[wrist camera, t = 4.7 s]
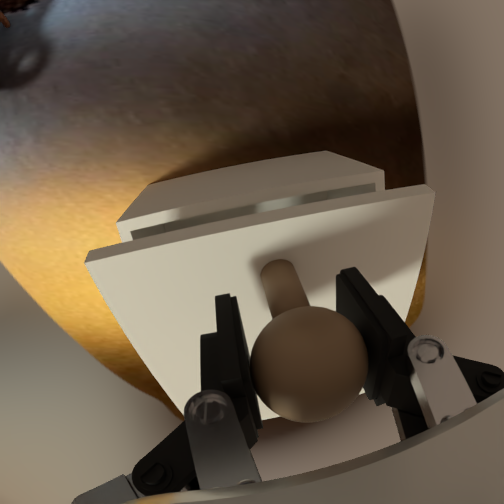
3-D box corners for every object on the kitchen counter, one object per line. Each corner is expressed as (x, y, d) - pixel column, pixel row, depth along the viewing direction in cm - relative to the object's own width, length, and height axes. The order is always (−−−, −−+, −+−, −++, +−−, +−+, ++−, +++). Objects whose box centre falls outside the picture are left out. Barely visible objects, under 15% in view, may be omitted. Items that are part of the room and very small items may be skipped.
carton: (147, 184, 23) (115, 222, 14) (326, 150, 23) (384, 170, 15) (197, 346, 29) (198, 420, 21) (337, 315, 30) (374, 378, 22)
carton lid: (89, 250, 11) (39, 410, 6) (425, 184, 12) (536, 287, 6) (195, 421, 21) (204, 505, 16) (376, 378, 22) (409, 453, 16)
